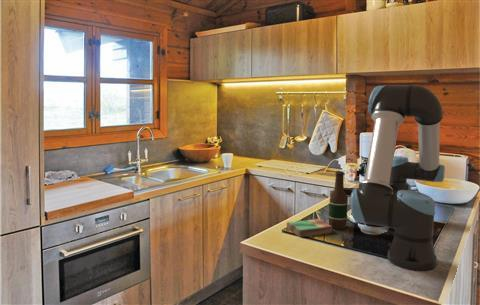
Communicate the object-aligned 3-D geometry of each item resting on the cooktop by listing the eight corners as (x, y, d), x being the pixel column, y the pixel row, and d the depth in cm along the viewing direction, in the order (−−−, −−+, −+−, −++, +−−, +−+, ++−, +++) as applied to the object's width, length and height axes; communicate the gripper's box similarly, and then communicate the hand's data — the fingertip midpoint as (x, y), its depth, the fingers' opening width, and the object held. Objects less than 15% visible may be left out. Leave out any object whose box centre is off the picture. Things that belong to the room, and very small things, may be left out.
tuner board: (332, 232, 160) (332, 226, 159) (299, 237, 154) (300, 230, 154) (317, 224, 170) (317, 218, 169) (286, 228, 164) (286, 222, 164)
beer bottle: (333, 223, 172) (335, 169, 168) (349, 226, 167) (352, 171, 163) (324, 227, 166) (326, 171, 162) (341, 231, 161) (344, 174, 157)
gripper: (399, 208, 161) (356, 214, 154) (360, 194, 185) (321, 198, 177) (400, 191, 160) (357, 195, 153) (361, 179, 183) (322, 182, 176)
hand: (338, 197), depth 165 cm, fingers open, 13 cm apart
